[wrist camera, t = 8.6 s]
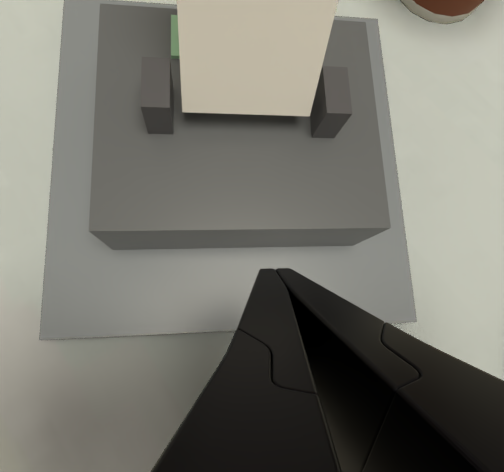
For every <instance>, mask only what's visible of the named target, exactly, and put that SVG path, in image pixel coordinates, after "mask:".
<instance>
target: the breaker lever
mask: <svg viewBox="0 0 504 472" xmlns="http://www.w3.org/2000/svg"><path fill="white" fill-rule="evenodd" d="M337 4H338V0H177V15H178V35H179V56H180V76H181V97H182V112H189V113H220V114H251V115H282V116H310V113H311V109H312V105H313V101H314V97H315V93H316V89H317V85H318V81H319V77H320V73H321V69H322V65H323V60H324V56H325V52H326V48H327V44H328V40H329V36H330V32H331V28H332V24H333V20H334V16H335V12H336V8H337Z"/></svg>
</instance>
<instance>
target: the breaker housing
mask: <svg viewBox="0 0 504 472" xmlns="http://www.w3.org/2000/svg"><path fill="white" fill-rule="evenodd" d="M266 268H273V269H277V268H291V269H292V270H294V271H296V272H298V273H299V274H301V275H303V276H305V277H307V278H308V279H310V280H312V281H314V282H315V283H317V284H319V285H321V286H323V287H324V288H326V289H328V290H330V291H331V292H333V293H335V294H337V295H338V296H340V297H342V298H344V299H346V300H347V301H349V302H351V303H353V304H354V305H356V306H358V307H360V308H361V309H363V310H365V311H367V312H369V313H370V314H372V315H374V316H376V317H377V318H379V319H381V320H383V321H384V323H385V322H387V323H404V322H417V319H416V311H415V304H414V296H413V288H412V281H411V273H410V265H409V257H408V250H407V242H406V234H405V227H404V219H403V211H402V204H401V196H400V188H399V181H398V173H397V165H396V158H395V150H394V142H393V135H392V127H391V119H390V112H389V104H388V96H387V88H386V81H385V73H384V65H383V58H382V50H381V42H380V35H379V27H378V19H370V18H356V17H342V16H334V20H333V24H332V28H331V32H330V36H329V40H328V44H327V48H326V52H325V56H324V60H323V65H322V69H321V73H320V77H319V81H318V85H317V89H316V93H315V97H314V101H313V105H312V109H311V113H310V116H282V115H251V114H220V113H189V112H182V97H181V76H180V56H179V35H178V15H177V5H174V4H160V3H146V2H132V1H118V0H64V7H63V21H62V35H61V48H60V62H59V76H58V89H57V103H56V117H55V131H54V144H53V158H52V172H51V186H50V199H49V213H48V227H47V241H46V254H45V268H44V282H43V295H42V309H41V323H40V337H39V340H55V339H76V338H96V337H117V336H137V335H158V334H178V333H199V332H219V331H236V329H237V327H238V324H239V321H240V319H241V316H242V314H243V311H244V308H245V306H246V303H247V301H248V298H249V295H250V293H251V290H252V288H253V285H254V282H255V280H256V277H257V275H258V272H259V270H260V269H266Z"/></svg>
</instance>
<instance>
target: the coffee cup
mask: <svg viewBox="0 0 504 472" xmlns="http://www.w3.org/2000/svg"><path fill="white" fill-rule="evenodd" d="M400 1H401V2H402V3H403V4H404V5H405V6H406V7H407V8H408V9H409V10H410V11H411V12H412V13H414V14H416V15H418V16H420V17H422V18H424V19H425V20H427V21H431V22H437V23H442V24H449V23H454V22H459V21H462V20H464V19H465V18H466V17H467V16H469V15H470V14H471V13H472V12H474V10H475V9H476V8H477V7H478V6H479V5H480V4H481V3H482V2H483V1H484V0H400Z"/></svg>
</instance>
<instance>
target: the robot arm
mask: <svg viewBox="0 0 504 472" xmlns="http://www.w3.org/2000/svg"><path fill="white" fill-rule="evenodd" d="M151 472H504V381H503V380H501V379H499V378H497V377H495V376H493V375H490V374H488V373H486V372H484V371H482V370H480V369H478V368H476V367H474V366H472V365H470V364H468V363H465V362H463V361H461V360H459V359H457V358H455V357H453V356H451V355H449V354H447V353H445V352H442V351H440V350H438V349H436V348H434V347H432V346H430V345H428V344H426V343H424V342H422V341H420V340H418V339H416V338H415V337H413V336H411V335H409V334H407V333H405V332H403V331H402V330H400V329H398V328H396V327H394V326H393V325H391V324H389V323H387V322H385V323H384V321H383V320H381V319H379V318H377V317H376V316H374V315H372V314H370V313H369V312H367V311H365V310H363V309H361V308H360V307H358V306H356V305H354V304H353V303H351V302H349V301H347V300H346V299H344V298H342V297H340V296H338V295H337V294H335V293H333V292H331V291H330V290H328V289H326V288H324V287H323V286H321V285H319V284H317V283H315V282H314V281H312V280H310V279H308V278H307V277H305V276H303V275H301V274H299V273H298V272H296V271H294V270H292V269H291V268H277V269H273V268H266V269H260V270H259V272H258V275H257V277H256V280H255V282H254V285H253V288H252V290H251V293H250V295H249V298H248V301H247V303H246V306H245V308H244V311H243V314H242V316H241V319H240V321H239V324H238V327H237V329H236V331H235V333H234V336H233V339H232V341H231V343H230V345H229V348H228V350H227V352H226V354H225V356H224V357H223V359H222V361H221V362H220V364H219V366H218V368H217V369H216V371H215V372H214V374H213V375H212V377H211V378H210V380H209V382H208V383H207V385H206V386H205V388H204V389H203V391H202V393H201V394H200V396H199V397H198V399H197V400H196V402H195V403H194V405H193V407H192V408H191V410H190V411H189V413H188V414H187V416H186V417H185V419H184V421H183V422H182V424H181V425H180V427H179V428H178V430H177V431H176V433H175V435H174V436H173V438H172V439H171V441H170V442H169V444H168V445H167V447H166V449H165V450H164V452H163V453H162V455H161V456H160V458H159V459H158V461H157V463H156V464H155V466H154V467H153V469H152V470H151Z"/></svg>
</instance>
